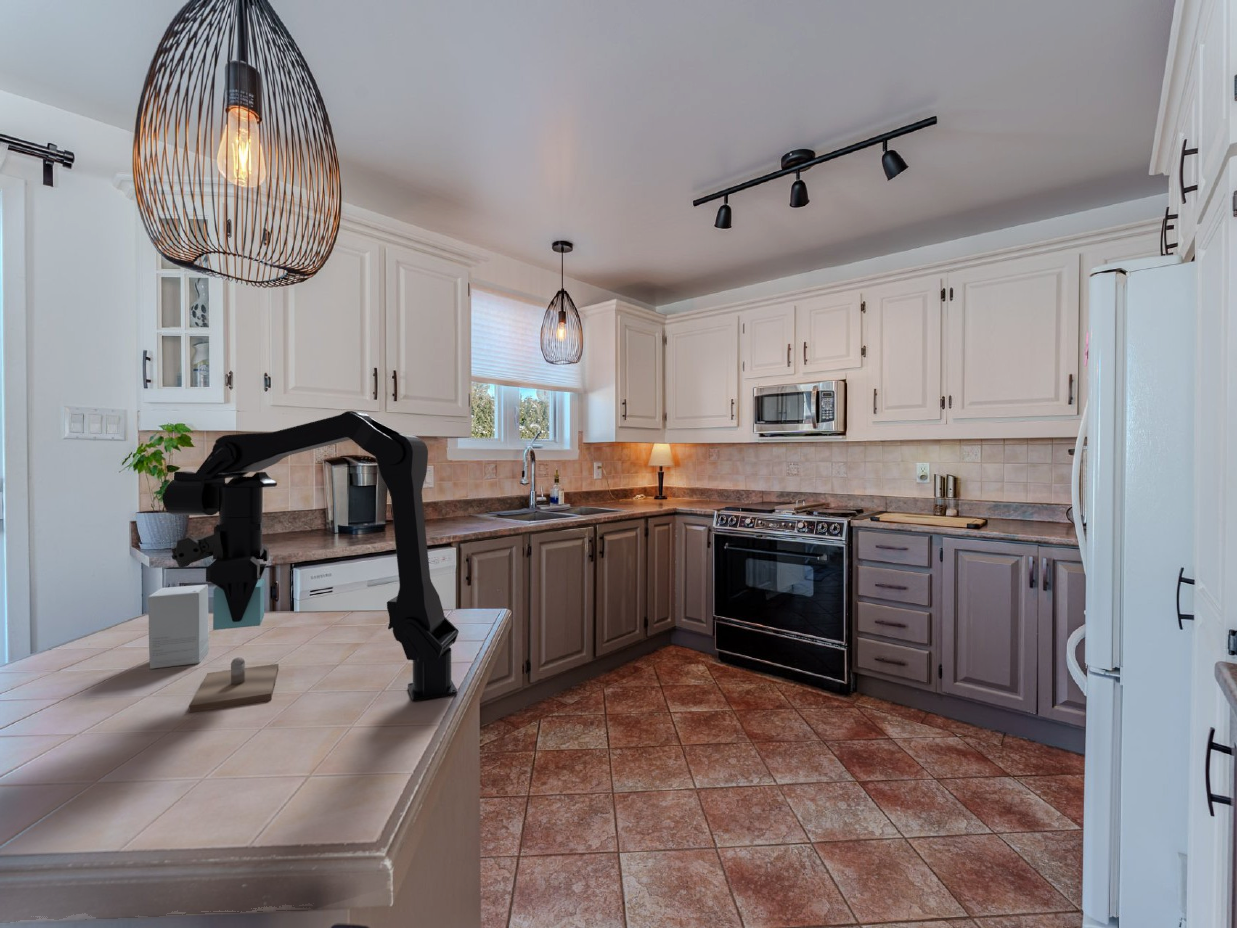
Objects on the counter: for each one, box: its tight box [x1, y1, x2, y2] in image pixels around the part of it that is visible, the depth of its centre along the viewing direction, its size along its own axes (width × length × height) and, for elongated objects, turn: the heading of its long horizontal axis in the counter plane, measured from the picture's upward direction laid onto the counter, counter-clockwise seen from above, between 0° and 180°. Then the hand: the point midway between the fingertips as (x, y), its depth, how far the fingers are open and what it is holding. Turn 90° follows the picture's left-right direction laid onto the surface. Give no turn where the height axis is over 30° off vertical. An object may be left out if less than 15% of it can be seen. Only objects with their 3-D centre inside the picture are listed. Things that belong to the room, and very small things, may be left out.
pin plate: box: [188, 657, 279, 713], centre depth 91 cm, size 14×10×5 cm
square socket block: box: [212, 578, 265, 631], centre depth 91 cm, size 6×6×6 cm
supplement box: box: [147, 584, 210, 670], centre depth 104 cm, size 7×7×13 cm
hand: (239, 616), depth 92 cm, fingers closed on square socket block, 6 cm apart
